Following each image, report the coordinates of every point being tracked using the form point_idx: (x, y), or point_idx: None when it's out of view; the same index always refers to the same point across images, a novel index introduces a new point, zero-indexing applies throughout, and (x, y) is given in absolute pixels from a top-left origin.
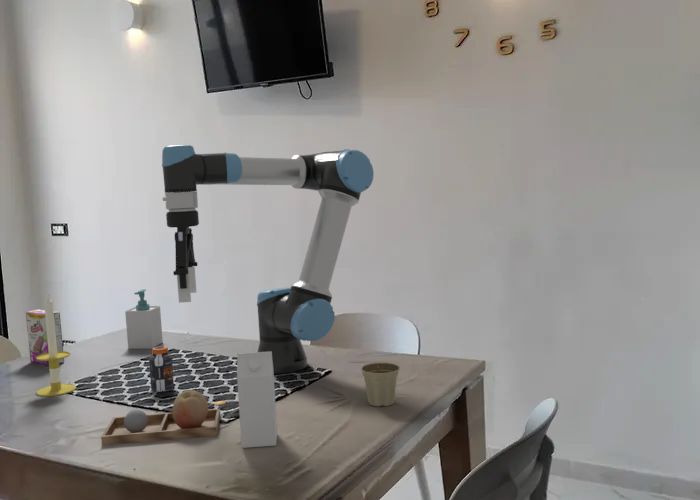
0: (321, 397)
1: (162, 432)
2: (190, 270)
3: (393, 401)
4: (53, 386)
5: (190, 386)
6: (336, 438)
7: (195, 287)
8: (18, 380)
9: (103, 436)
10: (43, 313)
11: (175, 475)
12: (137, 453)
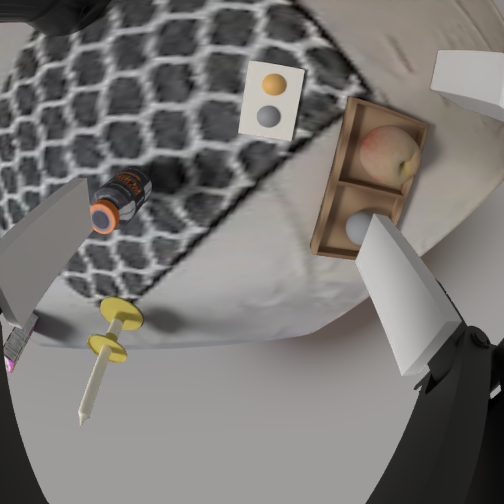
0: None
1: (407, 194)
2: (15, 276)
3: None
4: (124, 321)
5: (132, 137)
6: (468, 8)
7: (71, 191)
8: (85, 341)
9: None
10: (11, 364)
11: (478, 188)
12: (413, 219)
